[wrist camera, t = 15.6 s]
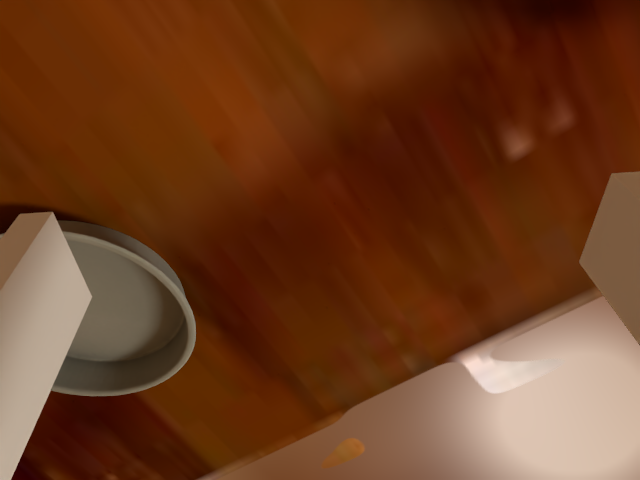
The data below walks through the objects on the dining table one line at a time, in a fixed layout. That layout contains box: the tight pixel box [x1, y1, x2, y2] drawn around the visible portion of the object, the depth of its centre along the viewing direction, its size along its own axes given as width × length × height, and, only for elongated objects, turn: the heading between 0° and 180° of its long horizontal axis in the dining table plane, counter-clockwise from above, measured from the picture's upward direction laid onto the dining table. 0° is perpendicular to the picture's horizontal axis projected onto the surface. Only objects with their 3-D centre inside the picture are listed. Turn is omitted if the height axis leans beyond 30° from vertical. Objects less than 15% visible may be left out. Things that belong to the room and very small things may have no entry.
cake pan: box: [0, 221, 196, 396], centre depth 53 cm, size 25×25×4 cm
